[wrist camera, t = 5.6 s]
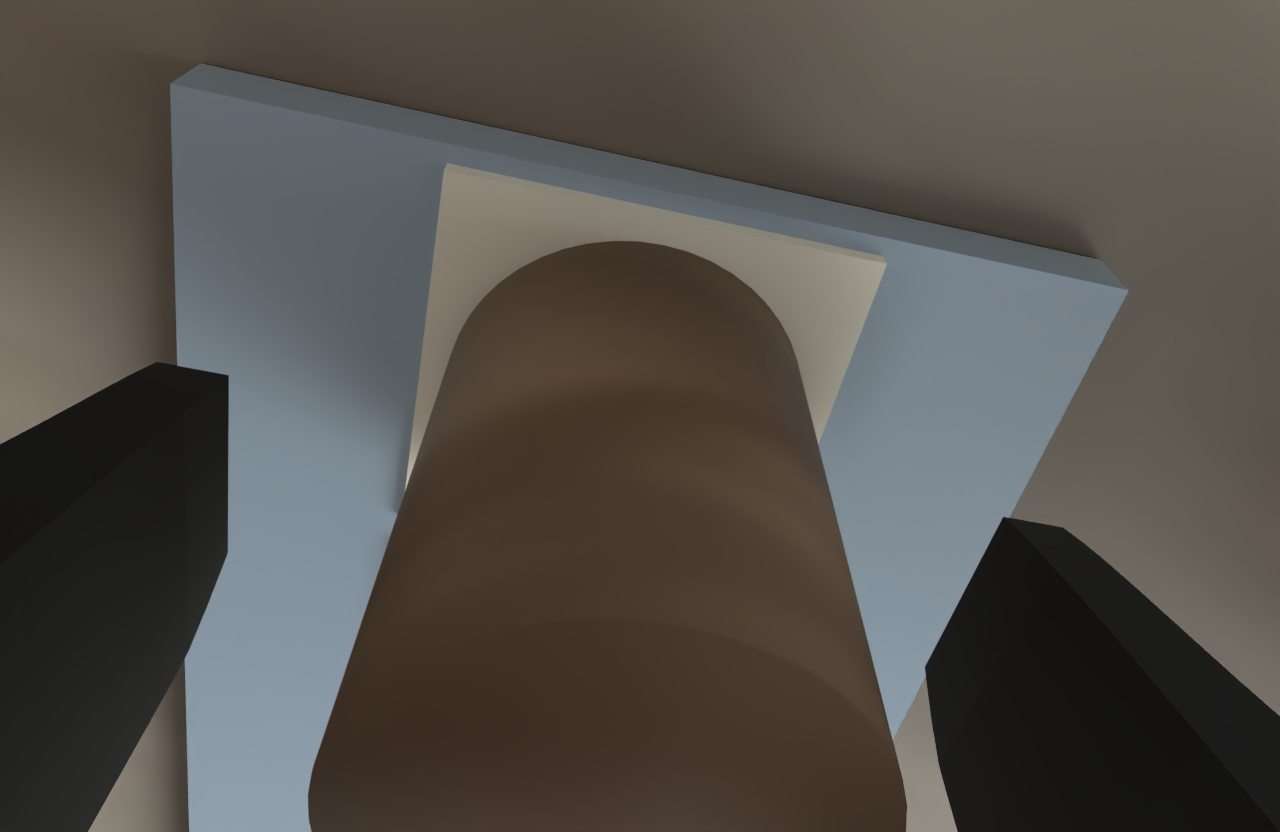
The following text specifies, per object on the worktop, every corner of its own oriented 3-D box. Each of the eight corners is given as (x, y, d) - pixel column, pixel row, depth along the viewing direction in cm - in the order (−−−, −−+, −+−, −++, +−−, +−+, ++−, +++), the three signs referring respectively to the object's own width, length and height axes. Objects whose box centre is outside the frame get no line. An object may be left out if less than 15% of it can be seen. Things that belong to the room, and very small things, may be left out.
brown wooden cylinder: (850, 284, 11) (1003, 680, 6) (746, 568, 13) (803, 1023, 8) (469, 203, 10) (324, 566, 6) (427, 511, 12) (296, 960, 8)
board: (1100, 259, 12) (1136, 299, 11) (682, 1094, 22) (684, 1147, 21) (200, 63, 11) (161, 89, 10) (210, 1039, 21) (192, 1093, 20)
